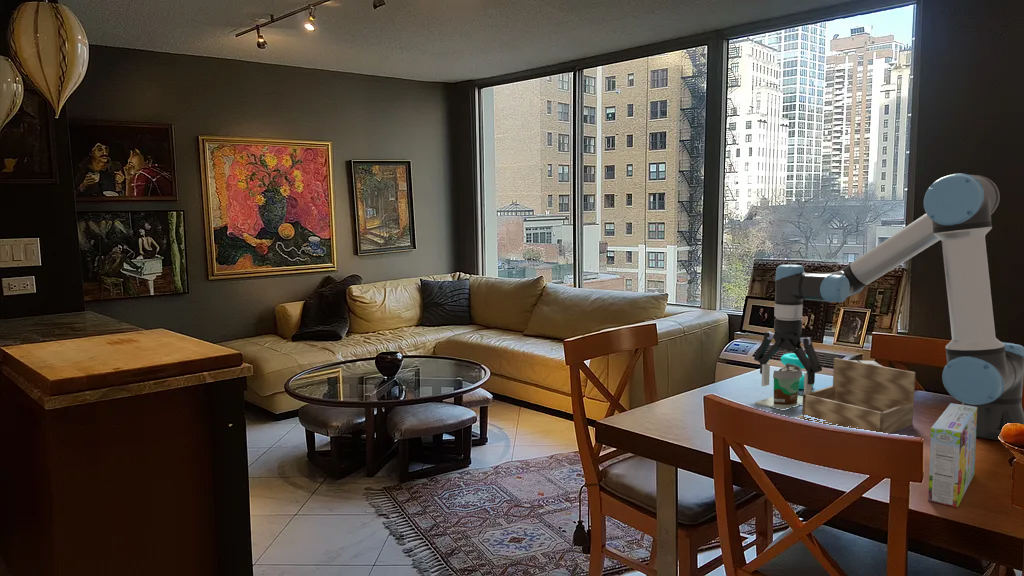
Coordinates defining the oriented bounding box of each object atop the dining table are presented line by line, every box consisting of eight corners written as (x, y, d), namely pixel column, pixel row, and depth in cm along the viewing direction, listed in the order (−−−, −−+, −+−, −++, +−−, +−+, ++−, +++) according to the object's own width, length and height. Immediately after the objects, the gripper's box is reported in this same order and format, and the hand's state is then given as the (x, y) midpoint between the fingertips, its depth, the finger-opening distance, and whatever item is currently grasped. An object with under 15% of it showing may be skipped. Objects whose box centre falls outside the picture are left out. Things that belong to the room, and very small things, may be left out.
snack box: (944, 468, 148) (949, 401, 146) (975, 475, 145) (980, 406, 143) (925, 501, 132) (929, 426, 131) (959, 509, 129) (964, 432, 127)
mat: (814, 401, 200) (814, 399, 200) (782, 411, 190) (782, 409, 190) (787, 394, 207) (787, 392, 207) (755, 403, 198) (755, 402, 198)
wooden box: (912, 424, 177) (915, 372, 176) (869, 442, 165) (872, 386, 163) (833, 405, 195) (835, 357, 193) (789, 419, 183) (791, 369, 181)
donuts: (815, 360, 208) (780, 357, 212) (814, 391, 209) (779, 389, 213) (814, 353, 217) (781, 351, 221) (813, 383, 219) (780, 381, 222)
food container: (794, 408, 191) (795, 374, 190) (772, 404, 195) (773, 370, 193) (806, 398, 200) (808, 365, 199) (785, 395, 204) (786, 362, 203)
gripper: (836, 322, 188) (834, 396, 190) (758, 312, 208) (756, 379, 210) (821, 325, 183) (819, 401, 186) (743, 314, 204) (741, 383, 206)
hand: (785, 390), depth 198 cm, fingers open, 13 cm apart
